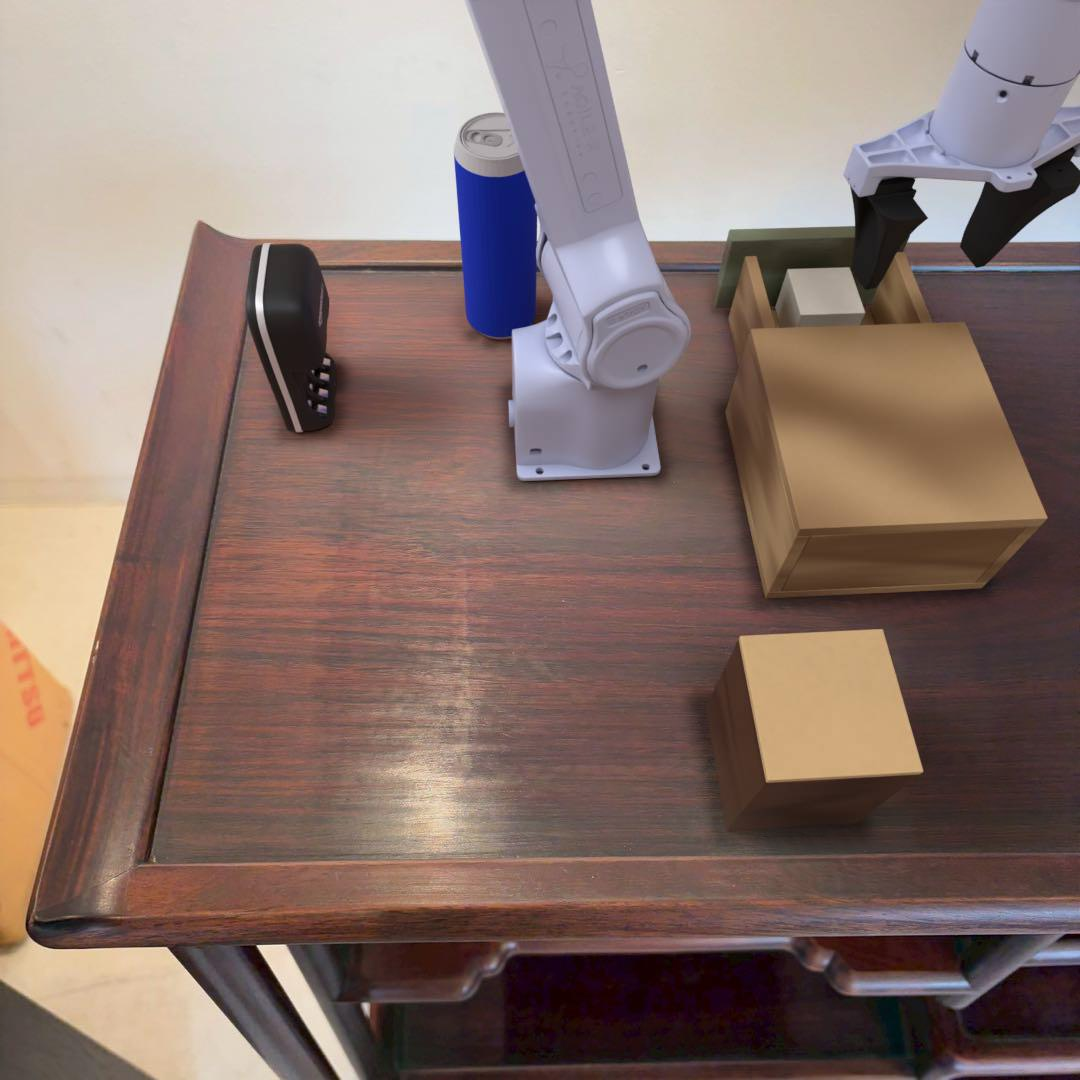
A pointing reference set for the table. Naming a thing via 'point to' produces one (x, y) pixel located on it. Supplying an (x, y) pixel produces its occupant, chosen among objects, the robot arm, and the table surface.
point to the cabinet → (876, 461)
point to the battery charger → (292, 332)
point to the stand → (777, 802)
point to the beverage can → (495, 227)
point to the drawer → (770, 252)
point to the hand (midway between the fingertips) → (918, 267)
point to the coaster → (827, 706)
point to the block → (819, 298)
